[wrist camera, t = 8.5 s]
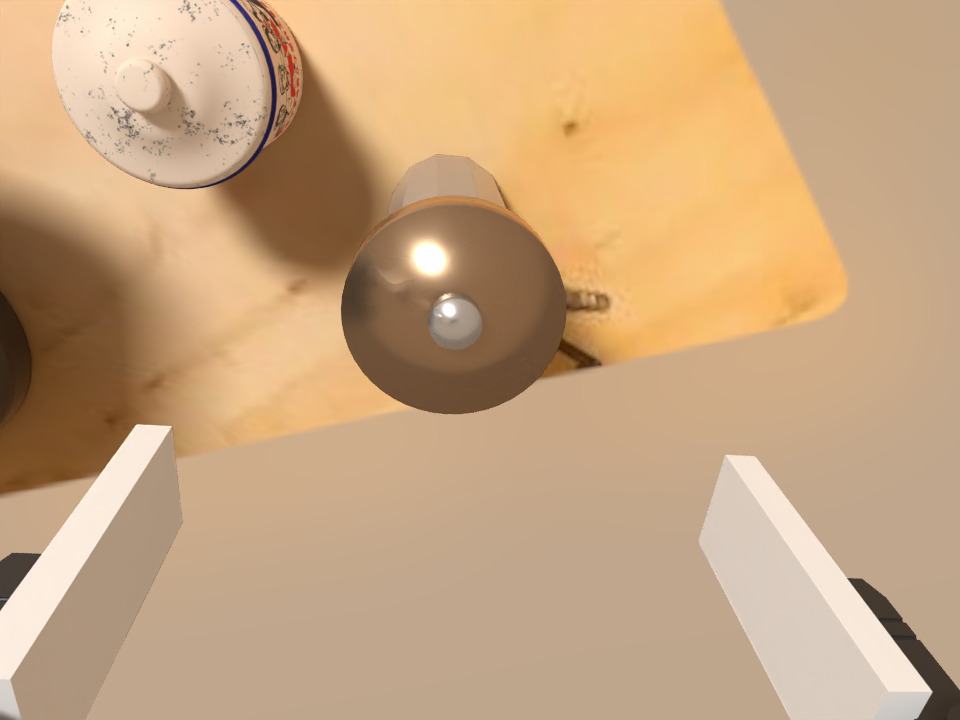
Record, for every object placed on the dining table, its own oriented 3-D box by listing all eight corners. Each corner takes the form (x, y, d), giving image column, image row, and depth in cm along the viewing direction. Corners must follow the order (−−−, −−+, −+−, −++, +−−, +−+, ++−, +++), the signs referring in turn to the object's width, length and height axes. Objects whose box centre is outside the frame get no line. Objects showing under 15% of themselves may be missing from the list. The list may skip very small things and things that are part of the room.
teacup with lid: (325, 145, 38) (285, 189, 28) (167, 167, 39) (67, 220, 28) (270, -108, 33) (195, -168, 23) (86, -82, 33) (-74, -131, 23)
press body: (387, 303, 43) (367, 417, 30) (394, 150, 39) (375, 209, 26) (491, 311, 44) (513, 426, 31) (509, 161, 39) (544, 224, 27)
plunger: (368, 290, 40) (336, 417, 27) (374, 137, 36) (340, 199, 23) (514, 301, 40) (551, 430, 28) (534, 153, 37) (588, 222, 24)
